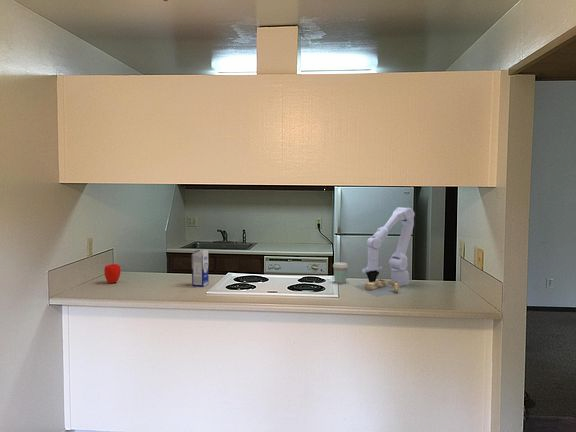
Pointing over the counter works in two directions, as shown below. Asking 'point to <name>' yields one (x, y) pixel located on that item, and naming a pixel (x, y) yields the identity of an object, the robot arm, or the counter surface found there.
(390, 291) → the board
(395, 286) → the keeper
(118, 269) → the apple
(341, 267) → the coffee cup
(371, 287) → the link
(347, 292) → the counter surface
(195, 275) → the milk carton
